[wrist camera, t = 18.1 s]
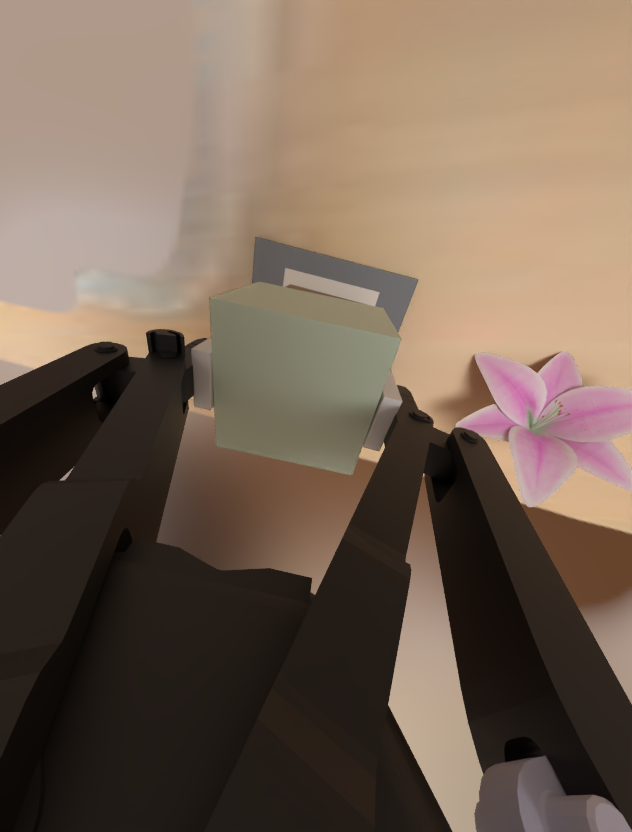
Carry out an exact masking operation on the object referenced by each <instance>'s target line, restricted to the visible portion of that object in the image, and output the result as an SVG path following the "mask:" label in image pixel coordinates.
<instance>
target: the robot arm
mask: <svg viewBox="0 0 632 832" xmlns="http://www.w3.org/2000/svg"><path fill="white" fill-rule="evenodd" d="M146 336H147V343H148V350H149V354H148V355H147V357H146V358H136V357H128V351H127V347H125V346H124V345H121V344H117V343H112V342H100V343H94V344H91V345H88V346H85V347H83V348H81V349H79V350H77V351H74V352H72V353H70V354H68V355H65V356H63V357H61V358H59V359H57V360H54V361H52V362H50V363H48V364H46V365H43V366H41V367H39V368H37V369H35V370H32V371H30V372H28V373H26V374H24V375H22V376H19V377H17V378H15V379H13V380H11V381H8V382H6V383H4V384H2V385H0V832H452V830H451V828H450V826H449V824H448V822H447V820H446V818H445V816H444V814H443V812H442V810H441V808H440V806H439V804H438V802H437V800H436V798H435V797H434V794H433V792H432V790H431V788H430V787H429V785H428V783H427V781H426V779H425V777H424V775H423V773H422V771H421V769H420V767H419V765H418V763H417V761H416V759H415V757H414V755H413V753H412V751H411V749H410V747H409V745H408V744H407V741H406V739H405V737H404V735H403V733H402V731H401V729H400V728H399V725H398V724H397V722H396V720H395V718H394V716H393V714H392V712H391V710H390V708H389V706H388V702H389V696H390V689H391V685H392V679H393V673H394V668H395V661H396V656H397V651H398V645H399V640H400V634H401V628H402V623H403V617H404V612H405V606H406V600H407V595H408V589H409V583H410V576H411V567H410V564H408V563H406V562H405V559H406V553H407V549H408V544H409V539H410V534H411V529H412V525H413V519H414V514H415V510H416V505H417V500H418V496H419V491H420V486H421V481H422V477H423V473H424V474H425V483H426V489H427V495H428V501H429V506H430V512H431V518H432V524H433V530H434V535H435V541H436V547H437V552H438V558H439V564H440V569H441V576H442V582H443V587H444V593H445V599H446V604H447V610H448V616H449V622H450V628H451V634H452V639H453V645H454V651H455V657H456V662H457V668H458V674H459V680H460V686H461V691H462V696H463V700H464V705H465V710H466V714H467V719H468V724H469V727H470V730H471V734H472V738H473V741H474V745H475V748H476V752H477V756H478V759H479V763H480V765H481V768H482V771H483V774H484V775H483V777H482V779H481V785H480V791H479V799H480V801H479V802H478V803H477V805H476V809H475V824H476V830H477V832H632V704H631V703H630V701H629V699H628V697H627V695H626V694H625V692H624V690H623V688H622V686H621V684H620V683H619V681H618V679H617V677H616V676H615V674H614V672H613V670H612V668H611V667H610V665H609V663H608V661H607V659H606V657H605V656H604V654H603V652H602V650H601V649H600V647H599V645H598V643H597V641H596V639H595V638H594V636H593V634H592V632H591V630H590V629H589V627H588V625H587V623H586V621H585V620H584V618H583V616H582V614H581V612H580V611H579V609H578V607H577V605H576V603H575V601H574V600H573V598H572V596H571V594H570V592H569V591H568V589H567V587H566V585H565V583H564V582H563V580H562V578H561V576H560V574H559V573H558V571H557V569H556V567H555V565H554V564H553V562H552V560H551V558H550V556H549V555H548V553H547V551H546V549H545V547H544V546H543V544H542V542H541V540H540V538H539V537H538V535H537V533H536V531H535V529H534V527H533V526H532V524H531V522H530V520H529V518H528V517H527V515H526V513H525V511H524V509H523V508H522V506H521V504H520V502H519V500H518V499H517V497H516V495H515V493H514V491H513V490H512V488H511V486H510V484H509V482H508V481H507V479H506V477H505V475H504V473H503V472H502V470H501V468H500V466H499V464H498V463H497V461H496V459H495V457H494V455H493V453H492V452H491V450H490V448H489V446H488V444H487V443H486V441H485V440H484V439H483V438H482V437H481V436H479V434H478V433H476V432H474V431H472V430H468V429H466V428H461V427H456V428H454V429H453V430H452V432H451V434H447V433H445V432H442V431H440V430H438V429H436V428H434V427H433V424H434V422H433V419H432V418H431V417H430V416H429V415H428V414H426V413H424V412H422V411H421V410H418V407H417V405H416V403H415V401H414V398H413V396H412V394H411V392H410V391H409V390H408V389H407V388H406V387H403V386H399V385H396V382H395V379H394V376H393V374H392V371H391V369H390V372H389V375H388V377H387V380H386V383H385V386H384V388H383V391H382V394H381V397H380V399H379V402H378V405H377V408H376V410H375V413H374V416H373V419H372V421H371V424H370V427H369V430H368V432H367V435H366V438H365V441H364V443H363V447H364V448H368V449H372V450H376V451H380V449H381V447H382V444H383V442H384V444H385V449H384V451H383V453H382V455H381V457H380V460H379V462H378V464H377V466H376V468H375V470H374V472H373V475H372V477H371V479H370V481H369V483H368V485H367V487H366V489H365V491H364V493H363V496H362V498H361V500H360V502H359V504H358V506H357V508H356V510H355V513H354V514H353V517H352V519H351V521H350V523H349V525H348V527H347V529H346V531H345V533H344V536H343V538H342V540H341V542H340V544H339V546H338V548H337V550H336V552H335V555H334V557H333V559H332V561H331V563H330V565H329V567H328V569H327V571H326V574H325V576H324V578H323V580H322V582H321V584H320V586H319V588H318V591H317V593H316V595H314V594H313V593H311V592H310V591H311V583H312V578H309V577H304V576H301V575H296V574H292V573H288V572H283V571H278V570H274V569H270V568H266V569H246V570H225V571H223V570H218V569H216V568H214V567H212V566H210V565H208V564H207V563H205V562H203V561H201V560H200V559H198V558H196V557H195V556H193V555H191V554H189V553H188V552H186V551H184V550H183V549H181V548H179V547H174V546H170V545H165V544H161V543H157V542H156V541H157V537H158V533H159V529H160V525H161V520H162V516H163V512H164V508H165V504H166V499H167V496H168V492H169V487H170V483H171V479H172V475H173V471H174V467H175V463H176V459H177V454H178V450H179V446H180V442H181V438H182V434H183V430H184V425H185V421H186V417H187V413H188V409H189V407H188V400H189V399H190V398H191V397H192V396H193V395H194V406H195V407H199V408H203V409H207V410H211V409H212V408H213V407H214V390H213V367H212V345H211V337H210V338H209V339H207V338H202V339H197V340H195V341H193V342H191V344H190V343H189V344H188V345H186V346H185V344H184V335H183V334H182V333H180V332H177V331H173V330H165V329H157V330H151V331H148V332H146ZM94 387H95V390H96V394H97V397H95V398H94V399H93V396H92V391H93V388H94ZM74 466H75V467H74ZM73 467H74V468H73ZM72 468H73V470H72V471H71V473H70V474H69V476H68V477H67V479H66V480H64V481H59V480H60V479H61V478H62V477H63V476H64V475H66V473H68V472H69V471H70V470H71V469H72Z"/></svg>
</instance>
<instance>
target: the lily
mask: <svg viewBox="0 0 632 832" xmlns="http://www.w3.org/2000/svg"><path fill="white" fill-rule="evenodd" d="M475 360H476V363H477V365H478V367H479V369H480V371H481V373H482V375H483V377H484V379H485V381H486V383H487V385H488V388H489V390H490V392H491V394H492V396H493V398H494V400H495V402H496V403H497V404H492V405H489V406H487V407H484V408H482V409H480V410H478V411H476V412H474V413H472V414H470V415H468V416H467V417H465V418H463V419H462V420H460V421H459V422H458V423H456V425H455V428H456V427H461V428H466V429H468V430H472V431H474V432H476V433H478V434H479V436H483V437H487V438H491V439H496V440H502V441H508V442H509V445H510V450H511V454H512V458H513V463H514V468H515V473H516V478H517V482H518V486H519V491H520V493H521V496H522V499H523V501H524V503H525V504H526V505H527V506H528V507H535V506H537V505H539V504H541V503H542V502H544V501H546V500H547V499H548V498H549V497H550V496H552V495H553V494H554V493H555V492H556V491H557V490H558V489H559V488H560V487H561V486H562V485H563V484H564V483H565V482H566V481H567V480H568V479H569V478H570V477H571V476H572V474H573V473H574V472H575V470H576V468H577V467H579V468H581V469H582V470H584V471H586V472H588V473H590V474H592V475H594V476H597V477H599V478H601V479H603V480H605V481H607V482H609V483H612V484H614V485H616V486H618V487H620V488H623V489H625V490H628V491H630V492H632V468H631V467H630V465H629V464H628V462H627V461H626V459H625V458H624V456H623V455H622V453H621V452H620V451H619V450H618V448H617V447H616V446H615V445H614V444H613V443H612V442H611V441H610V440H611V439H615V438H618V437H621V436H624V435H627V434H629V433H631V432H632V390H631V389H625V388H619V387H609V386H584V387H583V382H582V377H581V374H580V371H579V368H578V366H577V364H576V362H575V360H574V358H573V357H572V355H571V354H570V353H569V352H560V353H559V354H557V355H556V356H555V357H553V358H552V359H551V360H550V361H549V362H548V363H547V364H545V365H544V366H543V367H542V368H541V370H540V371H539V372H538V373H536V372H535V371H534V370H532V369H531V368H529V367H527V366H525V365H523V364H521V363H518V362H516V361H513V360H510V359H507V358H504V357H501V356H497V355H494V354H490V353H478V354H475Z"/></svg>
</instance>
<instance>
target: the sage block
mask: <svg viewBox="0 0 632 832" xmlns="http://www.w3.org/2000/svg"><path fill="white" fill-rule="evenodd" d="M209 300H210V322H211V345H212V367H213V390H214V412H215V433H216V446H217V447H222V448H226V449H231V450H236V451H241V452H245V453H250V454H255V455H260V456H264V457H269V458H273V459H278V460H283V461H287V462H292V463H297V464H301V465H306V466H311V467H316V468H320V469H325V470H329V471H334V472H339V473H344V474H349V475H352V473H353V471H354V468H355V465H356V463H357V460H358V457H359V454H360V452H361V449H362V446H363V443H364V441H365V438H366V435H367V432H368V430H369V427H370V424H371V421H372V419H373V416H374V413H375V410H376V408H377V405H378V402H379V399H380V397H381V394H382V391H383V388H384V386H385V383H386V380H387V377H388V375H389V372H390V369H391V366H392V364H393V361H394V358H395V355H396V353H397V350H398V347H399V344H400V342H401V337H400V336H399V334H398V332H397V330H396V329H395V327H394V325H393V324H392V322H391V320H390V318H389V317H388V315H387V313H386V312H385V310H384V308H380V307H376V306H371V305H366V304H362V303H357V302H352V301H348V300H343V299H338V298H334V297H329V296H325V295H320V294H315V293H311V292H306V291H301V290H297V289H292V288H287V287H283V286H278V285H273V284H269V283H264V282H256V283H253V284H250V285H247V286H244V287H241V288H238V289H234V290H231V291H228V292H225V293H222V294H219V295H216V296H213V297H210V298H209Z"/></svg>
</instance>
